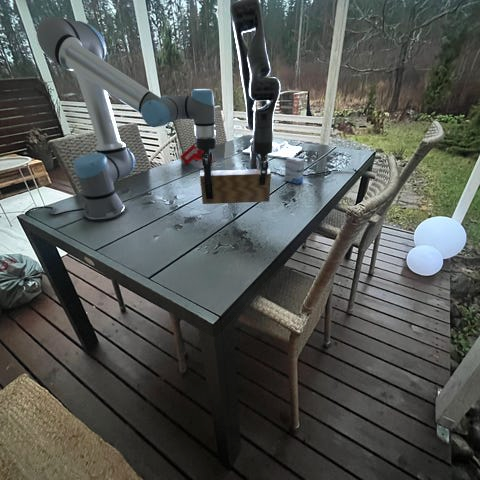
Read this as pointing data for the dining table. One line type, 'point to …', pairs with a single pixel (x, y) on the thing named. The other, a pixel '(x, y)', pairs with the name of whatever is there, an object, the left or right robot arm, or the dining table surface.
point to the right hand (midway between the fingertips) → (261, 181)
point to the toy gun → (192, 155)
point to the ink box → (294, 170)
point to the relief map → (281, 150)
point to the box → (236, 186)
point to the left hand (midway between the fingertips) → (209, 195)
